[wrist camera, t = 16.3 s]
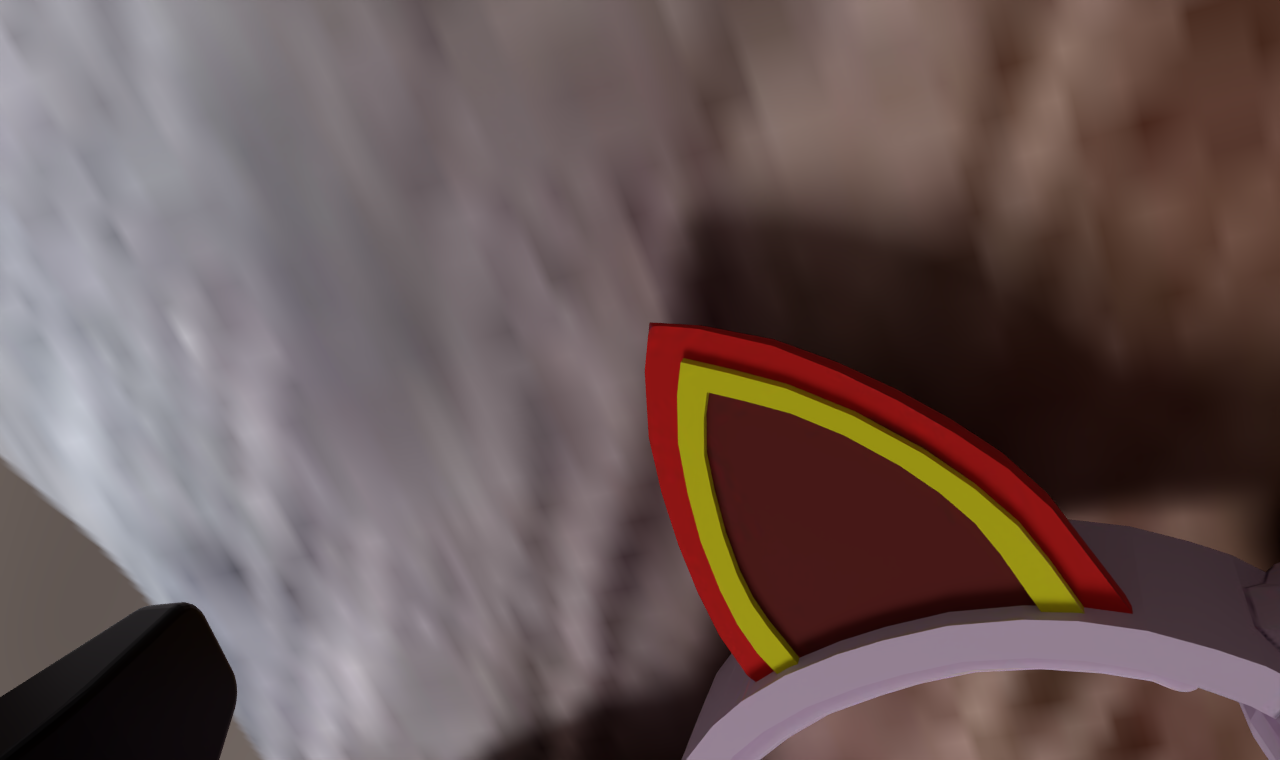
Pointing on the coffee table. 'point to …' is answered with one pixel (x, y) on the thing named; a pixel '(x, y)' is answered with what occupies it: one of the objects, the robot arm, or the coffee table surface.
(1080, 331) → the coffee table surface
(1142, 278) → the coffee table surface
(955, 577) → the headphones
